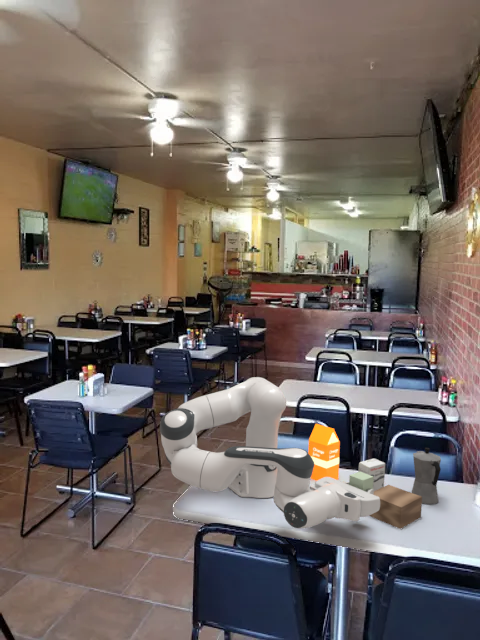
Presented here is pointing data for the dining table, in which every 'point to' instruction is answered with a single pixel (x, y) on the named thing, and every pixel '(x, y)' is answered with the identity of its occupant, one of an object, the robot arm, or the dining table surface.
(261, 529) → the dining table surface
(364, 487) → the sage block
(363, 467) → the ink box
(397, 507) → the walnut block
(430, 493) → the coffeepot
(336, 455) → the orange juice
